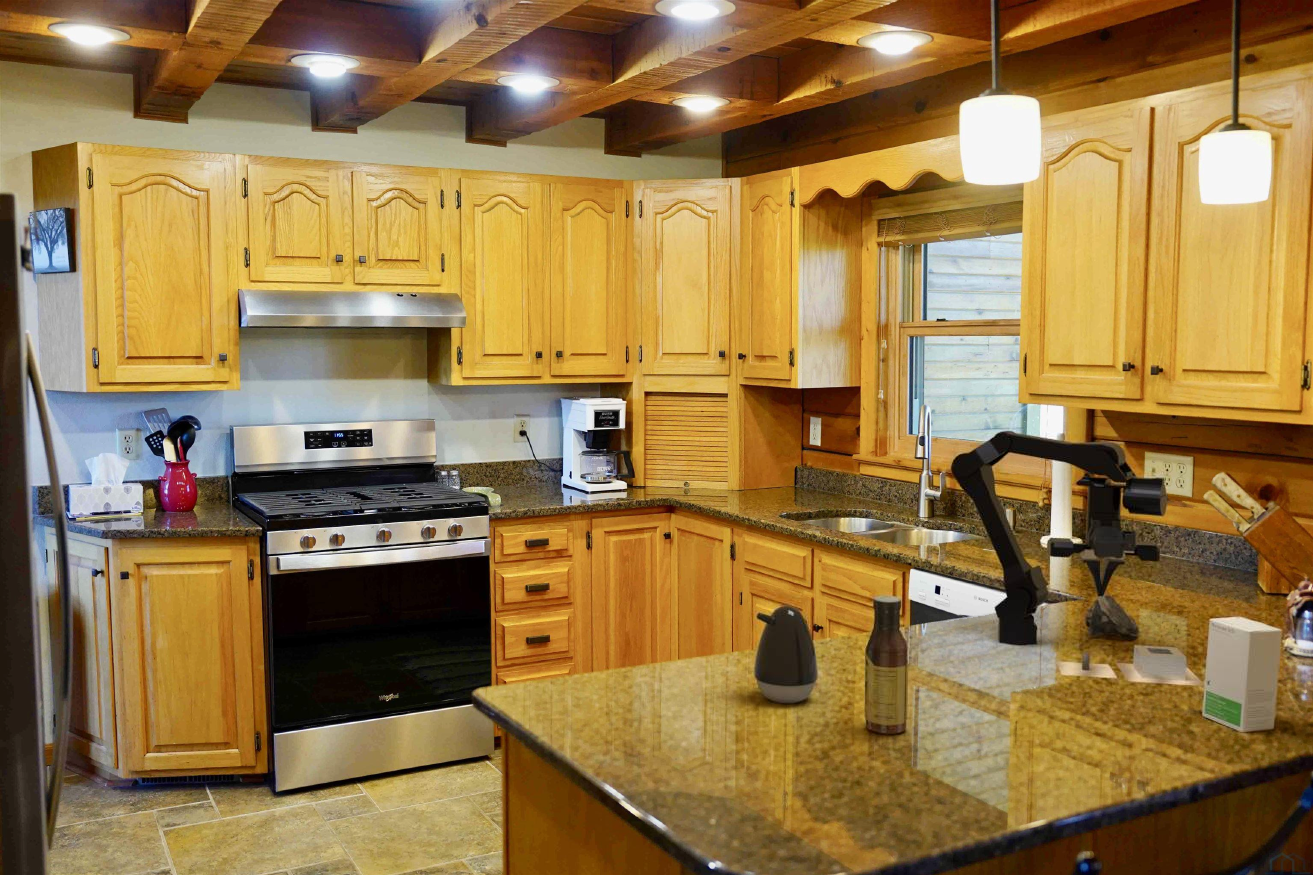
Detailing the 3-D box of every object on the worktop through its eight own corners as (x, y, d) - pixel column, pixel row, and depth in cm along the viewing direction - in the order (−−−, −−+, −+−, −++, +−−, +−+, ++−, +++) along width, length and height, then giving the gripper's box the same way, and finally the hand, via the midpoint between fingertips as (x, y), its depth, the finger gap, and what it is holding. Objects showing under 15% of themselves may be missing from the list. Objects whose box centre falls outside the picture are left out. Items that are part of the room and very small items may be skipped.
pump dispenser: (742, 693, 190) (743, 601, 189) (798, 687, 194) (800, 597, 193) (769, 711, 181) (771, 614, 180) (828, 704, 184) (830, 610, 183)
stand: (1061, 681, 199) (1062, 658, 199) (1054, 667, 208) (1055, 645, 208) (1117, 685, 198) (1118, 661, 197) (1107, 671, 206) (1108, 649, 206)
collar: (1133, 667, 204) (1134, 645, 204) (1175, 670, 203) (1176, 647, 203) (1141, 678, 198) (1142, 655, 197) (1185, 680, 196) (1186, 657, 196)
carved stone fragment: (1146, 641, 226) (1122, 595, 227) (1101, 660, 229) (1077, 614, 229) (1137, 627, 237) (1114, 583, 237) (1094, 645, 239) (1072, 601, 239)
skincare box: (1200, 717, 180) (1205, 618, 179) (1234, 713, 183) (1238, 615, 181) (1244, 733, 172) (1249, 630, 171) (1278, 729, 175) (1283, 627, 174)
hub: (1128, 688, 196) (1129, 663, 195) (1115, 669, 207) (1116, 646, 207) (1204, 693, 193) (1206, 668, 193) (1187, 673, 205) (1188, 650, 205)
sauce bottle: (877, 720, 177) (880, 591, 176) (914, 728, 173) (918, 597, 172) (855, 730, 172) (858, 597, 171) (893, 739, 168) (897, 604, 167)
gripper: (1056, 515, 206) (1052, 602, 207) (1168, 519, 202) (1164, 608, 203) (1048, 507, 217) (1045, 590, 218) (1154, 511, 213) (1151, 595, 214)
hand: (1100, 596), depth 213 cm, fingers closed
